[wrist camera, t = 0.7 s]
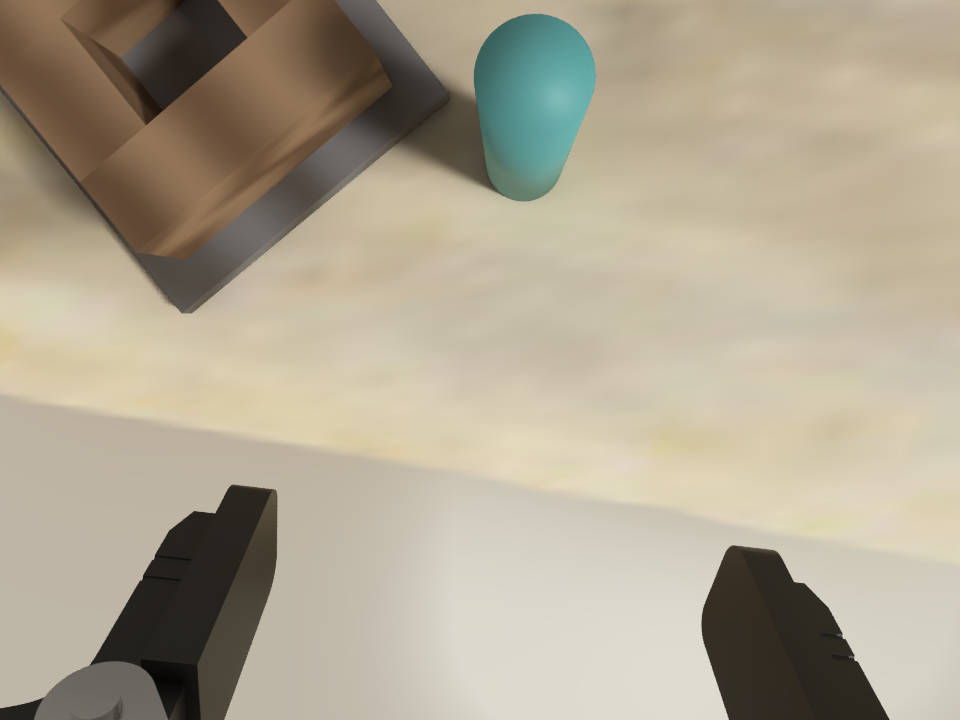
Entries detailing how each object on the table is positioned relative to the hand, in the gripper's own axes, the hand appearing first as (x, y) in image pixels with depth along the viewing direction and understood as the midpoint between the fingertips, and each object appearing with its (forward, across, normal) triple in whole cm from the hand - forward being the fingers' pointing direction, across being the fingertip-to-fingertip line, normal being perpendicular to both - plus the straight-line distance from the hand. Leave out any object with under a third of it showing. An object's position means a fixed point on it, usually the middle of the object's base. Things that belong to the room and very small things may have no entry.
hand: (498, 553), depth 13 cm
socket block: (+31, +15, -3) cm, 34 cm away
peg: (+28, -2, -1) cm, 28 cm away
